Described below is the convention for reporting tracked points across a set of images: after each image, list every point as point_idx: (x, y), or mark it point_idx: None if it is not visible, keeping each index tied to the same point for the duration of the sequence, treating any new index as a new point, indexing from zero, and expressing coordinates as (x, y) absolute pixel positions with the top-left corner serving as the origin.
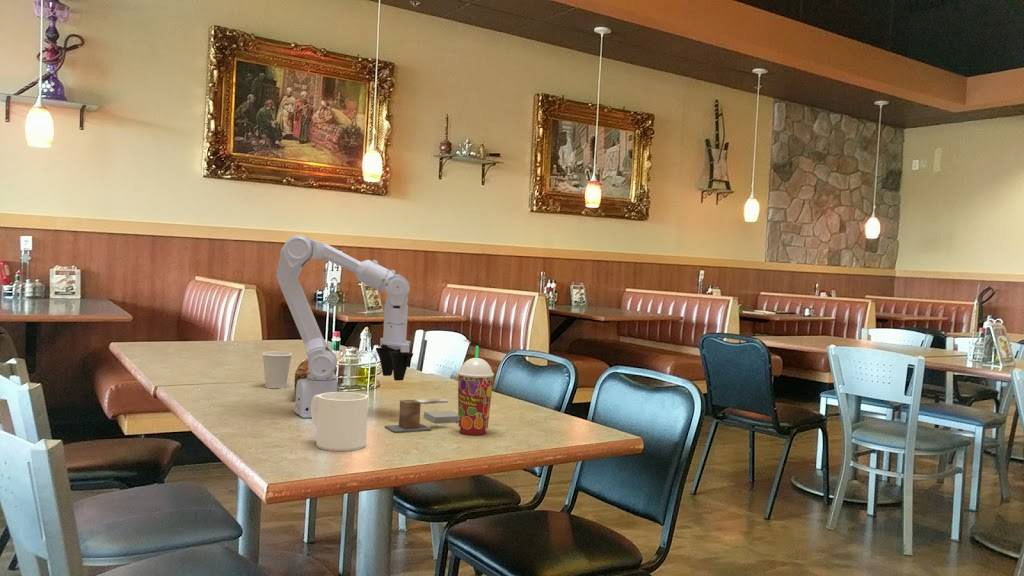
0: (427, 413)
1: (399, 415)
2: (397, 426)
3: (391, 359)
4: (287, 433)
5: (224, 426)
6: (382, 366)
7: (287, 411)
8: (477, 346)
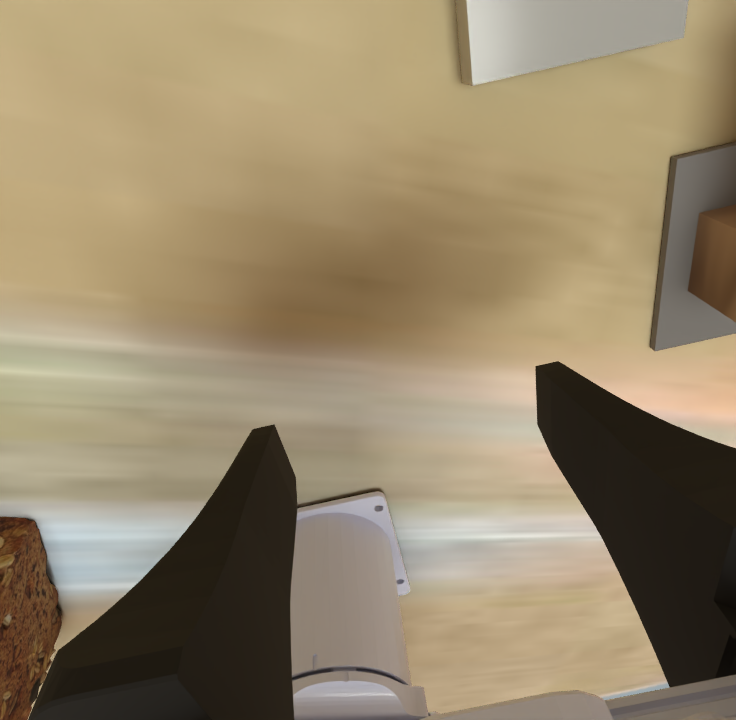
0: (534, 70)
1: (728, 315)
2: (694, 298)
3: (251, 563)
4: (615, 602)
5: (484, 701)
6: (292, 559)
7: None
8: None
